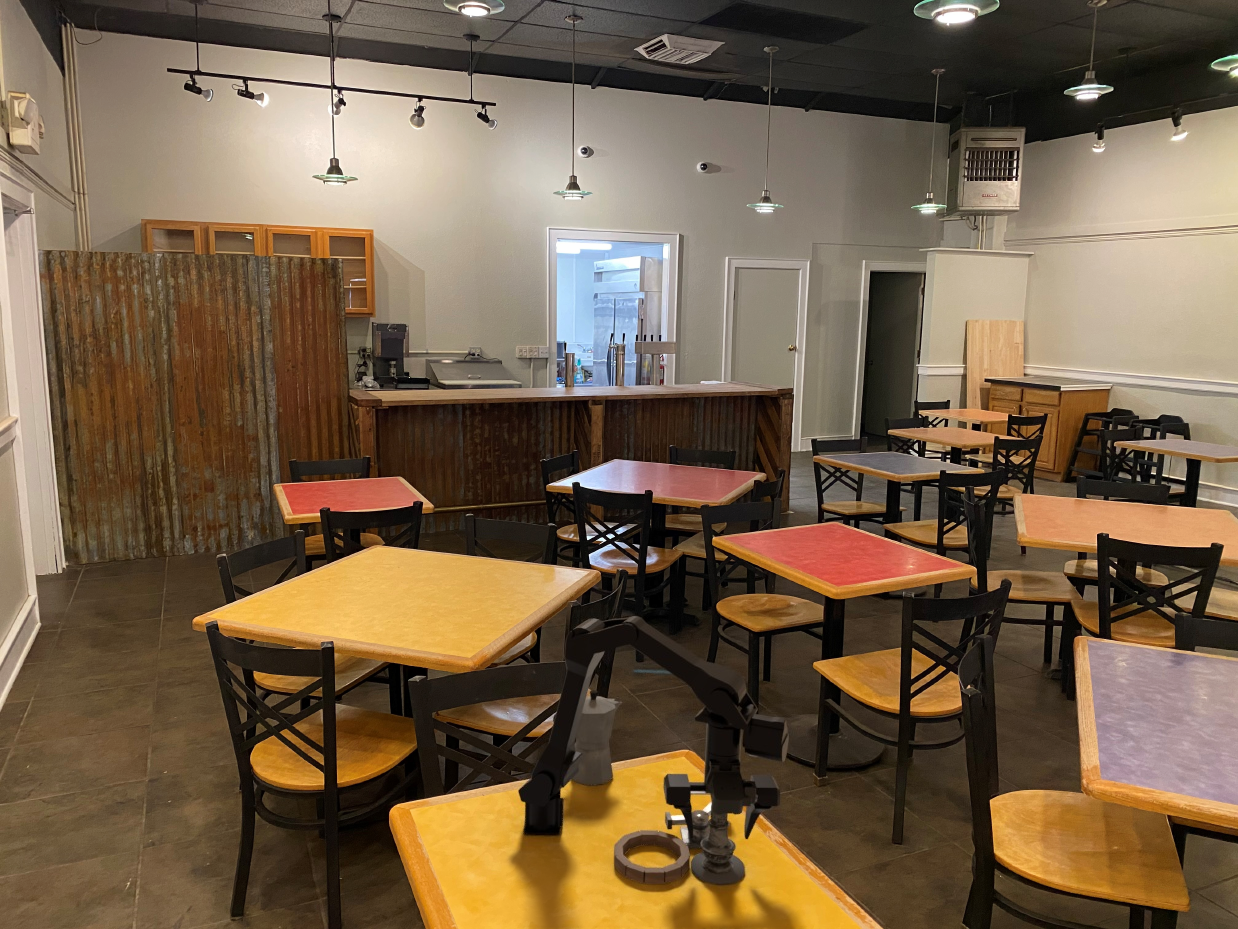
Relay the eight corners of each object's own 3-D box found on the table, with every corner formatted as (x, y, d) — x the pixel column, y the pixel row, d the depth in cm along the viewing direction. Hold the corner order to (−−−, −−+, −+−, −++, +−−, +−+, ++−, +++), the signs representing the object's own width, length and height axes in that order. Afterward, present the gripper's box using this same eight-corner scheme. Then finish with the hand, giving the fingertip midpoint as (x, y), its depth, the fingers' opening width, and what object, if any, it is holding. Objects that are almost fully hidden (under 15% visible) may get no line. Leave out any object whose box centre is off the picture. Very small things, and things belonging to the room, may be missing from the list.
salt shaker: (740, 862, 146) (743, 794, 145) (726, 878, 141) (728, 808, 140) (709, 851, 149) (711, 785, 148) (693, 867, 144) (695, 798, 143)
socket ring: (615, 883, 140) (615, 872, 140) (613, 840, 153) (613, 830, 152) (692, 884, 141) (693, 872, 140) (684, 841, 153) (684, 830, 153)
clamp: (659, 826, 152) (660, 804, 152) (698, 790, 166) (699, 769, 165) (695, 839, 149) (696, 816, 148) (732, 801, 162) (733, 779, 162)
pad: (694, 885, 141) (694, 881, 140) (687, 853, 149) (687, 850, 149) (749, 885, 141) (749, 881, 141) (739, 853, 150) (739, 850, 150)
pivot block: (684, 848, 151) (684, 835, 151) (680, 830, 157) (680, 817, 157) (718, 848, 151) (718, 835, 151) (713, 830, 157) (713, 817, 157)
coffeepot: (608, 759, 184) (610, 677, 182) (630, 778, 176) (633, 693, 174) (542, 774, 176) (543, 689, 174) (562, 795, 168) (564, 706, 166)
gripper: (671, 771, 134) (667, 865, 136) (790, 773, 135) (785, 866, 137) (664, 740, 145) (661, 827, 147) (775, 741, 146) (770, 828, 148)
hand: (718, 837), depth 145 cm, fingers open, 9 cm apart
